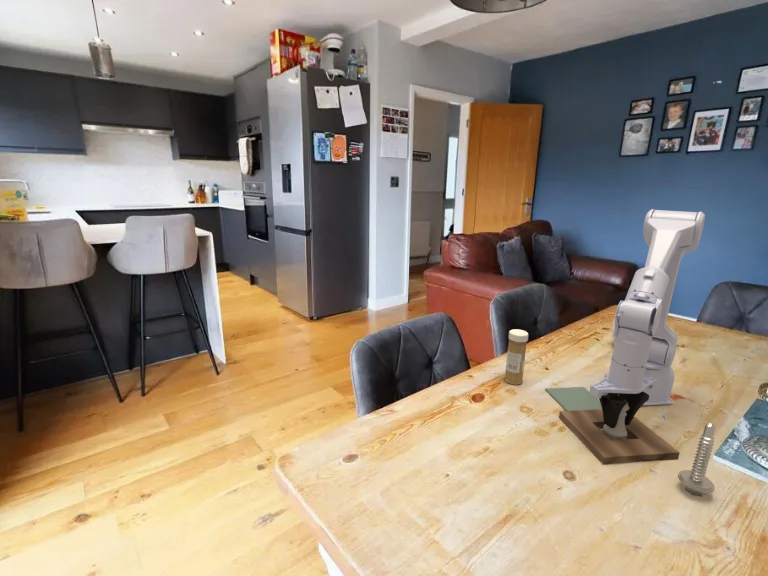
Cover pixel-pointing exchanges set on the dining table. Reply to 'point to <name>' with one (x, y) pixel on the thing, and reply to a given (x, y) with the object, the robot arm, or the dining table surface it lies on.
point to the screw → (700, 465)
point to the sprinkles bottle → (516, 356)
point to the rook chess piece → (617, 427)
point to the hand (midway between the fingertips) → (616, 423)
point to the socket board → (635, 449)
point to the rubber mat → (574, 398)
